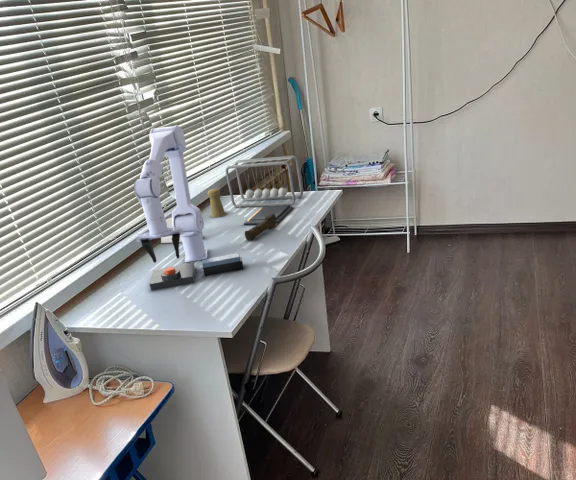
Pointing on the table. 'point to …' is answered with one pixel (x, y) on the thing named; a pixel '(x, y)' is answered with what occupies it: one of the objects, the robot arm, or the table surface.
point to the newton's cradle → (265, 192)
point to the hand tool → (261, 227)
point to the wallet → (265, 211)
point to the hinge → (169, 238)
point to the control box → (172, 277)
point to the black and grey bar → (222, 264)
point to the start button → (169, 270)
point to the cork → (216, 203)
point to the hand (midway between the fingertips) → (166, 259)
